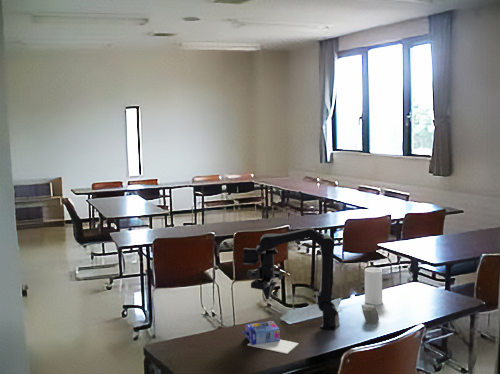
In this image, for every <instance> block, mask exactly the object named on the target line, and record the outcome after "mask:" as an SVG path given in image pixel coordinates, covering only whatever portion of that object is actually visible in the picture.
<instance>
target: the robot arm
mask: <svg viewBox="0 0 500 374" xmlns="http://www.w3.org/2000/svg"><path fill="white" fill-rule="evenodd" d="M306 239H310V240H312V241H313V242H314V243H316V244H317V245H318V246H319V249H320V254H321V263H320V264H321V265H320V288H319V291H316V290H315V295H316V297H315V303H316V306H318V309H319V311H321V312H322V324H320V326H319V328H321V329H325V330H330V331H331V330H332V331H335V330H336V329H337V328H338V327H339V326H340V324H339V323H337V314H338V310H337V307H336V305H335V304H334V302H332V295H331V291H330V288H331V287H330V286H331V283H330V282H331V261H332V255H333V253H334V249H335V242H334V240H333V237H331V236H330V235H328V234H323V233H321V232H319V231H317V230H315V229H314V228H313V227H311V226H309V227H308V226H307V227H306V228H301V229H296V230H293V231H289V232H288V231H287V232H283V233H265V234H262V236H261V237H260V241H259V243H258V244H257V245H256V248H253V247H252V248H251V247H249V248H248V247H243V256H242V263H243V265H257V263H259V262H260V265H259V266H258V267H257V268H256V269H255V268H254V269H249V270H247V273H246V277H248V278H249V280H252V281H251V283H250V288H251V289H255V290H262V292H263V296H264V298H265V300H269V299H270V298H271V295H272V293H273V290H274V289H275V287H276V285H277V283H278V282H277V281H275V280H274V279H277V280H279V281H281V280H282V279H284V273H282V272H281V271H276V270H275V269H276V266H277V265H275V262H274V261H275V255H278V254H279V251H278V249H276V247H279V246H280V245H282V244H286V243H287V244H288V243H291V242H297V241H301V240H302V241H303V240H306ZM253 279H255V280H253Z"/></svg>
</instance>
